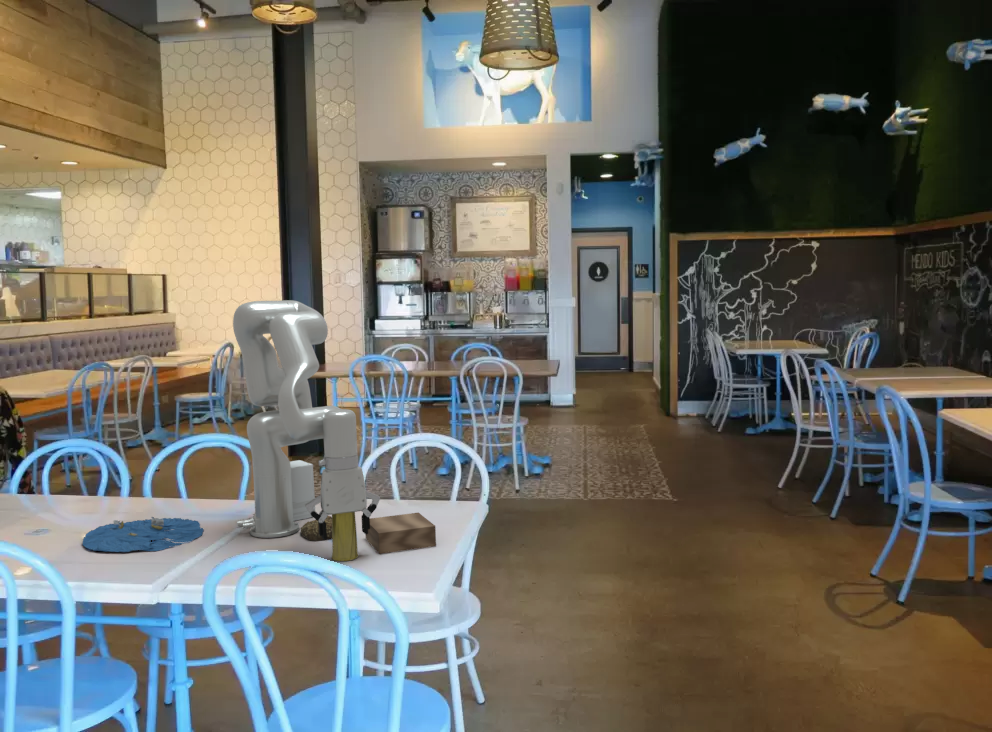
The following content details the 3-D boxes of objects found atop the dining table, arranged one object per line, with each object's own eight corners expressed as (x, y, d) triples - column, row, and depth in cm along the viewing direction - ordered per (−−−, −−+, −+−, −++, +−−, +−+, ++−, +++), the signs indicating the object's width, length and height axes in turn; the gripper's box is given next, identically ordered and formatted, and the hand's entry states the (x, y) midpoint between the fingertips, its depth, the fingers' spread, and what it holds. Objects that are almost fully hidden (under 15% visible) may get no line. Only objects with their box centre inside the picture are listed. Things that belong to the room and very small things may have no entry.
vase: (333, 562, 197) (330, 501, 195) (330, 555, 203) (328, 495, 201) (359, 560, 198) (357, 499, 197) (356, 552, 204) (354, 493, 203)
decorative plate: (229, 530, 233) (229, 511, 232) (158, 562, 204) (158, 541, 204) (137, 519, 241) (136, 501, 240) (55, 550, 212) (55, 529, 211)
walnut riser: (379, 553, 203) (378, 533, 202) (365, 538, 215) (364, 519, 215) (436, 546, 208) (435, 525, 207) (419, 531, 221) (418, 512, 220)
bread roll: (305, 544, 213) (304, 524, 213) (297, 531, 224) (296, 513, 224) (356, 537, 218) (355, 518, 217) (346, 525, 229) (345, 507, 229)
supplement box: (302, 510, 245) (300, 459, 243) (316, 517, 238) (314, 463, 236) (272, 516, 239) (269, 463, 238) (285, 523, 232) (283, 468, 231)
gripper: (306, 469, 192) (310, 544, 193) (382, 462, 198) (385, 534, 200) (301, 464, 199) (304, 536, 200) (374, 456, 205) (377, 527, 207)
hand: (344, 535), depth 200 cm, fingers open, 9 cm apart
